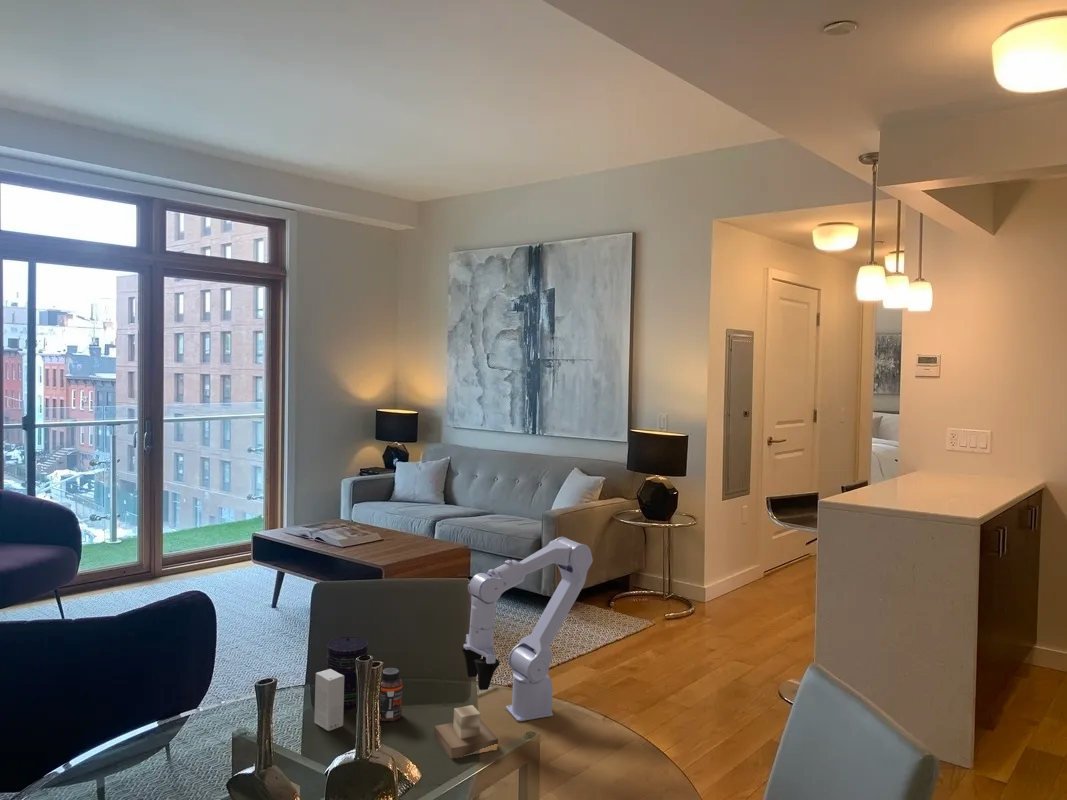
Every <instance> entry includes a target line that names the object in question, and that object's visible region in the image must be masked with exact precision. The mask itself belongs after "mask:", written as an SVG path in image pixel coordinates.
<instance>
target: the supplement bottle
mask: <svg viewBox="0 0 1067 800" xmlns="http://www.w3.org/2000/svg"><path fill="white" fill-rule="evenodd" d="M382 671H383V675H382V674H381V678H382V682H381V694H380V714H381V720H380V721H382V722H386V721H391V722H395V721H397V720H399V719H401V718H402V710H403V709H402V708H403V705H402V703H403V680H402V679H401V678H400V670H399V669H398V668H395V667H388V668H386V667H385V668H384V669H382Z"/></svg>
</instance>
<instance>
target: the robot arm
mask: <svg viewBox="0 0 1067 800" xmlns="http://www.w3.org/2000/svg"><path fill="white" fill-rule="evenodd" d="M591 551H592V550H591V549H590V547H589V546H588V545H587V544H585V543H579V542H577V541H575V540H571V539H569V538H567V537H565V536H559V537H557V538H556V539H553V540H550V541H549V543H548V544H547V545H546V546H544V547H543V548H541V549H539V550H537V551H535V552H534V553H532V554H530V555H529V556H527V557H526V558H524V559H522V560H520V561H517V560H515V559H512V560H510V559H507V560H505V561H504V564H502V565H499V566H498V567H496V568H494V569H492V568H490V569H488V571H487V572H486V573H485V572H478V573H477V574H475V575H474V576H473V577H472V578H471V579H470V581H469V584H467V590H468V593H469V594H470V602H471V604H470V605H471V606H470V607H471V608H470V619H469V630H468V633H467V634H465V643H463V645H461V647H460V649H461V652H462V655H463V657H464V660H465V669H466V674H467V677H468V678H473V677H475V678H476V677H477V686H478V690H479V691H485V690H489V688H490V685H491V682H492V678H493V676H494V674H495V671H496V670H497V668H498V667H499V665H500V660H498V658H497V655H496V653H495V647H494V646H495V645H494V634H495V631H494V630H495V617H496V608H497V605H496V604H497V601H498V600H499V599H500V598H501V596H502V594H503V593H505V592H506V591H508V590H509V589H512V588H514V587H515V586H518V585H519V584H521V583H523V582H524V581H525V578H526V575H529V574H530V573H533V572H536V571H538V570H540V569H543V568H545V567H547V566H549V565H553V564H556V566H557V567H558V570H559V572H560V576H561V580H560V582H559V584H558V585H557V587H556V589H555V591H554V592H553V594H552V596H551V598H550V599H549V601H548V603H547V604H546V607H545V608H544V610H543V612H542V613H541V616H540V618H539V619H538V621H537V623H536V624H535V626H534V628H533V630H532V631H531V634H529V635H526V636H523V637H522V638H521V639H520V641H519V642H518V644H516V645H515V646H514V647H513V648H512V649H511V650H510V652H509V655H508V659H507V661H508V665H509V666H510V668H511V669H512V674H513V675H512V700H511V701H512V702H511V704H509V705H506V706H505V709H506V710H507V711H508V713H510V714H511V716H513V718H514V719H515V721H517V722H525V721H530V720H536V719H542V718H547V717H553V716H554V713H553V710H552V709H553V691H554V689H553V687H554V686H553V682H552V680H551V677H550V676H549V674H548V673H549V670H550V669H549V668H550V665H551V662H552V659H553V653H552V649H551V645H552V643H553V642H554V639H555V638H556V637H557V635H558V632H559V631H560V629H561V627H562V625H563V624H564V622H565V619H566V618H567V616H568V614H569V613H570V611H571V608H572V607H573V605H574V604H575V602H576V600H577V598H578V597H579V595H580V592H581V591H582V589H583V588H584V585H585V584H586V580H587V574H588V571H589V569H590V567H591V565H592V564H593V561H594V560H593V555H592V552H591Z"/></svg>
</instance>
